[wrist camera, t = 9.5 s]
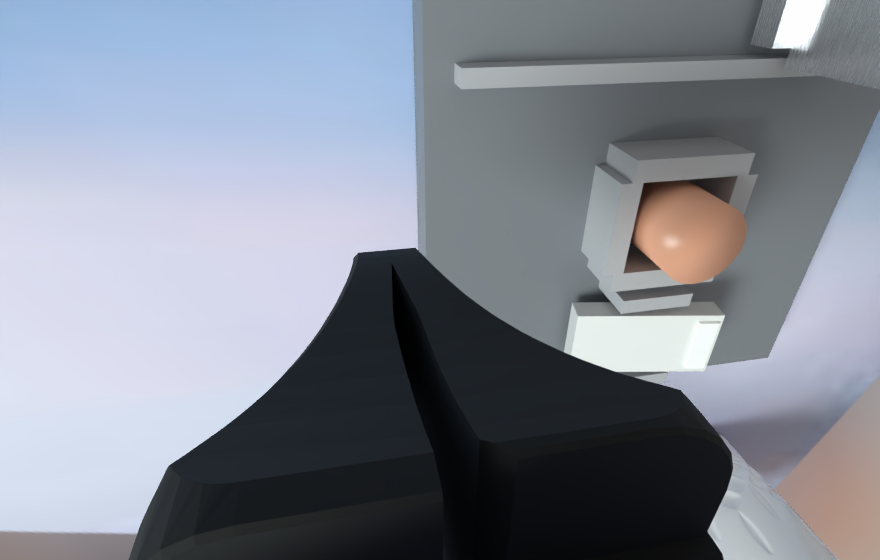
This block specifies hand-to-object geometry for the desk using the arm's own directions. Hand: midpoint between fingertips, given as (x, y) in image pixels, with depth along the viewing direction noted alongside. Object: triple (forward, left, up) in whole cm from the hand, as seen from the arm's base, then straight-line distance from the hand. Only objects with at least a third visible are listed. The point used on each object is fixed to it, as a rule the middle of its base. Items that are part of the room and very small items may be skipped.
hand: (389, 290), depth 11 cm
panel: (-2, -11, -9) cm, 15 cm away
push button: (-2, -11, -7) cm, 13 cm away
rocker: (-8, -11, -6) cm, 15 cm away
